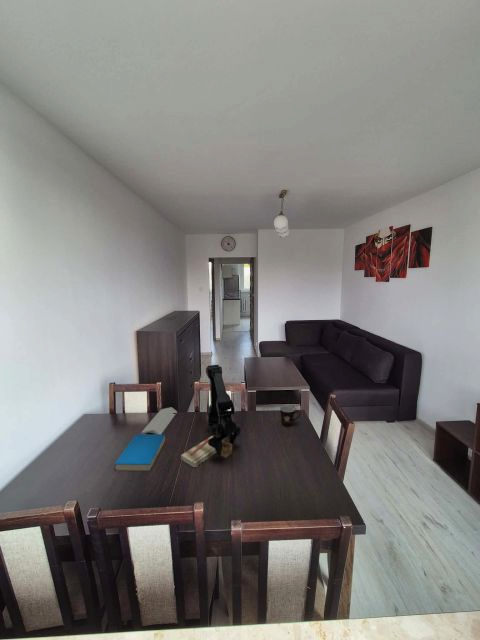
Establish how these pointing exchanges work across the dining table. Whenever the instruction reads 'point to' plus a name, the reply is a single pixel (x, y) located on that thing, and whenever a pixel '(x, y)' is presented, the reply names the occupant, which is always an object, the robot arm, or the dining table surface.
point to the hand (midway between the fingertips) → (225, 451)
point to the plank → (199, 454)
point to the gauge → (226, 449)
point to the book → (141, 452)
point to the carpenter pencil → (199, 447)
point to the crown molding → (160, 421)
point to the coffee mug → (287, 415)
